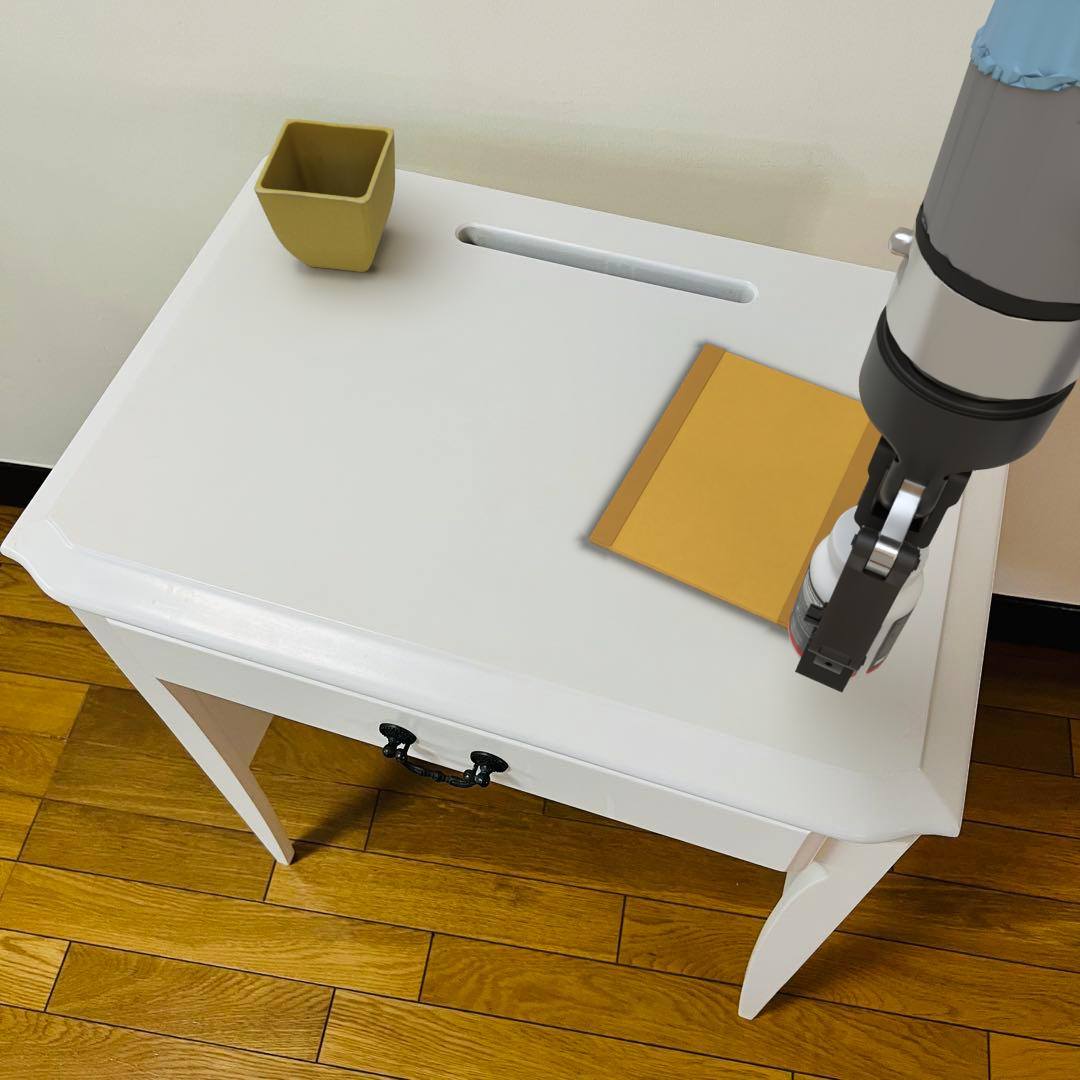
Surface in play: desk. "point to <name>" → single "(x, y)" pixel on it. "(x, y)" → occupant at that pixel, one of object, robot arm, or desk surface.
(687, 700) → the desk surface
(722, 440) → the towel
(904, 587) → the pill bottle
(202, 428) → the desk surface
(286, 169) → the flower pot
